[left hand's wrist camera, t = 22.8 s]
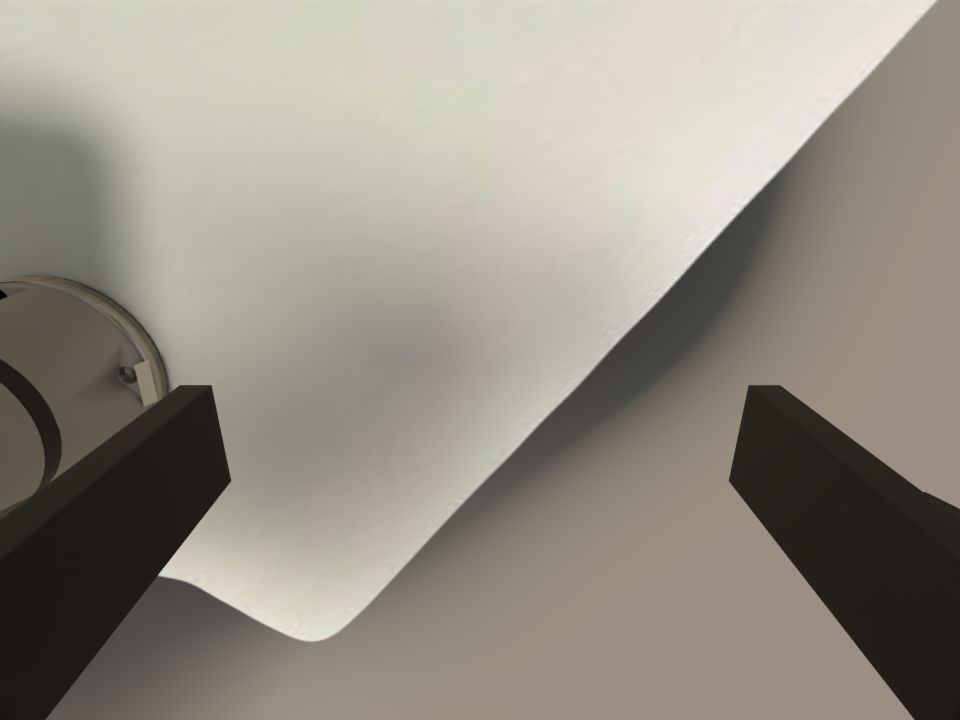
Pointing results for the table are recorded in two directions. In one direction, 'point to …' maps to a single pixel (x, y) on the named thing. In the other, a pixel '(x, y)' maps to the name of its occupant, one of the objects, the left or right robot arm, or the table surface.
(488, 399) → the table surface
